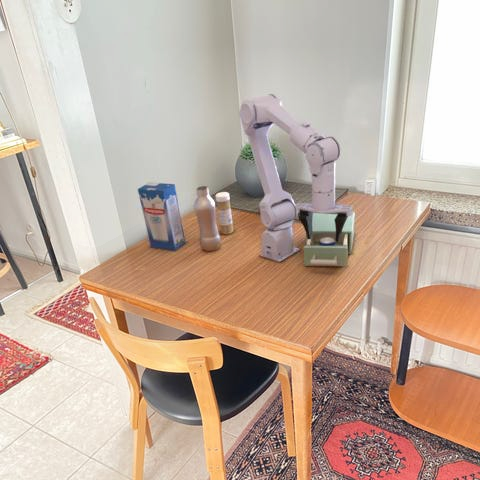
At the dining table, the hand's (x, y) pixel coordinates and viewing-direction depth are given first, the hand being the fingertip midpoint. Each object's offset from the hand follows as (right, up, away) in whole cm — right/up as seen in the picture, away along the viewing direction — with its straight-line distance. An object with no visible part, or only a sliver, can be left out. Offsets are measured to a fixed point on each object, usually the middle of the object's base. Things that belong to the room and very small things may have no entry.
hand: (323, 239), depth 128 cm
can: (+3, -3, +11) cm, 12 cm away
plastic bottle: (-31, +1, +27) cm, 41 cm away
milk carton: (-46, +3, +33) cm, 57 cm away
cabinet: (+6, +2, +21) cm, 22 cm away
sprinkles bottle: (-27, +8, +37) cm, 46 cm away
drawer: (+3, -4, +11) cm, 12 cm away
